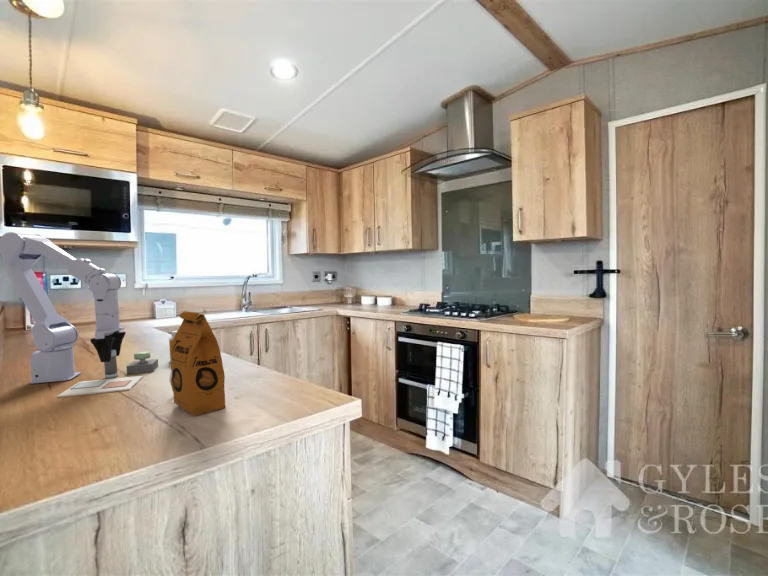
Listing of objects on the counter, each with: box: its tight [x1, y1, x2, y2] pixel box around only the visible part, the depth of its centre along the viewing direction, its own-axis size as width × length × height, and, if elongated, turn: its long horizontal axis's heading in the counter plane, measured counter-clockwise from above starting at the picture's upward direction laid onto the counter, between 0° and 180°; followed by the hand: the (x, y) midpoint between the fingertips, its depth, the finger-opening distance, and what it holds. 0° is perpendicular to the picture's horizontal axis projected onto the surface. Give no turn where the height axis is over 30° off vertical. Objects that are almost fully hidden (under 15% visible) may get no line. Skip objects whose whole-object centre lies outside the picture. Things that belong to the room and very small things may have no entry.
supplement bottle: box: [168, 330, 178, 361], centre depth 137 cm, size 6×6×10 cm
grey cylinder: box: [103, 349, 118, 379], centre depth 117 cm, size 3×3×8 cm
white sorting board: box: [56, 375, 145, 398], centre depth 108 cm, size 16×13×1 cm
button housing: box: [126, 358, 159, 375], centre depth 124 cm, size 7×7×2 cm
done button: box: [133, 351, 151, 363], centre depth 124 cm, size 4×4×4 cm
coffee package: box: [170, 310, 226, 417], centre depth 89 cm, size 10×12×22 cm
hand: (110, 358), depth 117 cm, fingers open, 7 cm apart
